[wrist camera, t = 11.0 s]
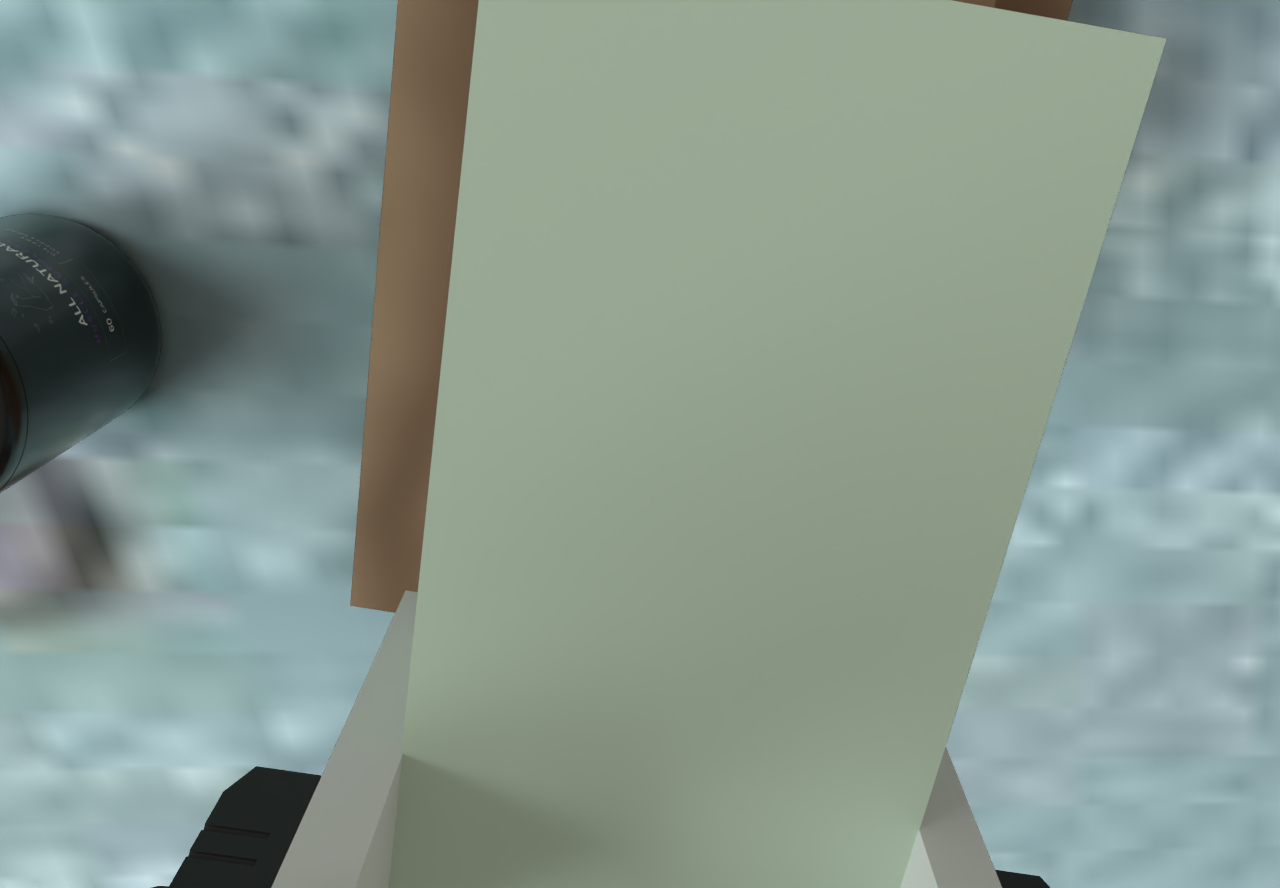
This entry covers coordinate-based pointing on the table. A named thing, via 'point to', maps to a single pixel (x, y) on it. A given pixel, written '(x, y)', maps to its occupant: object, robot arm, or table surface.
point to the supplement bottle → (67, 338)
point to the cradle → (429, 284)
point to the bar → (738, 424)
